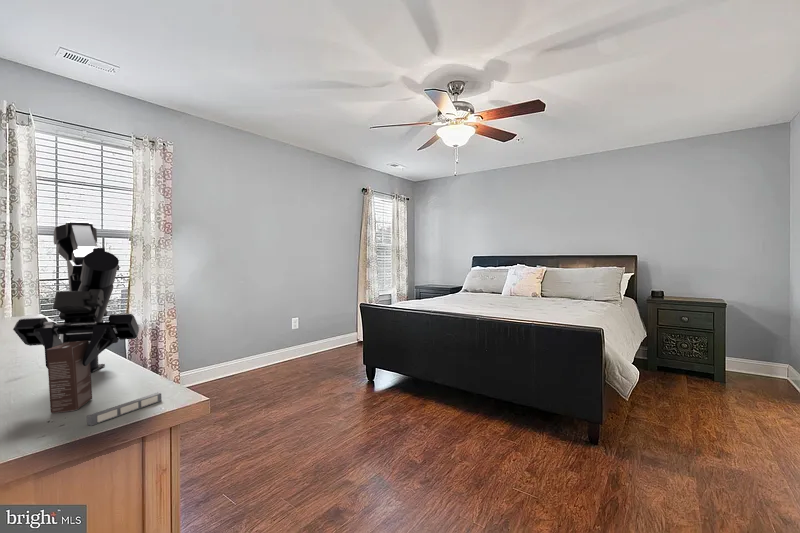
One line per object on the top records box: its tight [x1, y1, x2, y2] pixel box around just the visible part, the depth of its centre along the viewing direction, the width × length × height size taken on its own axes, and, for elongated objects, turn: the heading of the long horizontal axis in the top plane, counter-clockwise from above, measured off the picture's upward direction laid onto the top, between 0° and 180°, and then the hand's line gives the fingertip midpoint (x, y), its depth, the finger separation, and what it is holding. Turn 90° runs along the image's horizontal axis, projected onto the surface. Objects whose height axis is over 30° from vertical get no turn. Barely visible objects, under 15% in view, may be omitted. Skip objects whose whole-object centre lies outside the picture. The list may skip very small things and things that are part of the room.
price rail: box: [86, 391, 162, 427], centre depth 68 cm, size 1×12×2 cm, turn 156°
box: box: [47, 340, 93, 414], centre depth 71 cm, size 6×4×12 cm
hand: (66, 366), depth 70 cm, fingers open, 5 cm apart
